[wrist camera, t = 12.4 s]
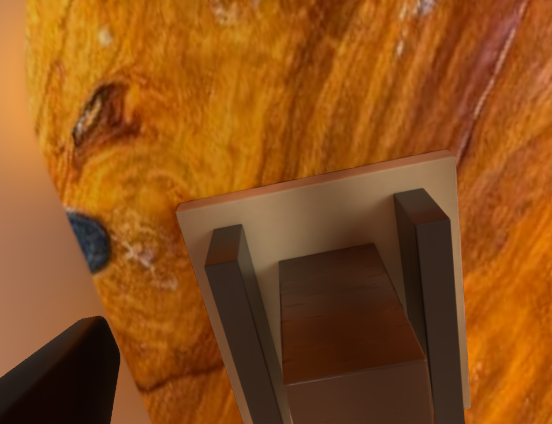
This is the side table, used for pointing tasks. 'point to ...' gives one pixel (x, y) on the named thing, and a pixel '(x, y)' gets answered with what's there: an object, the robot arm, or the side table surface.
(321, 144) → the side table surface
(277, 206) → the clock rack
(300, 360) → the dark brown block
